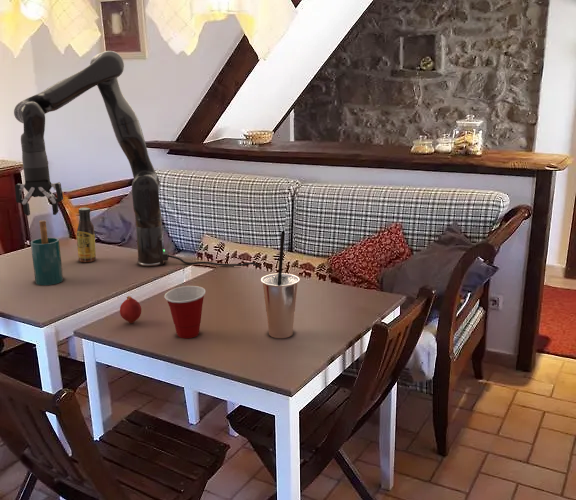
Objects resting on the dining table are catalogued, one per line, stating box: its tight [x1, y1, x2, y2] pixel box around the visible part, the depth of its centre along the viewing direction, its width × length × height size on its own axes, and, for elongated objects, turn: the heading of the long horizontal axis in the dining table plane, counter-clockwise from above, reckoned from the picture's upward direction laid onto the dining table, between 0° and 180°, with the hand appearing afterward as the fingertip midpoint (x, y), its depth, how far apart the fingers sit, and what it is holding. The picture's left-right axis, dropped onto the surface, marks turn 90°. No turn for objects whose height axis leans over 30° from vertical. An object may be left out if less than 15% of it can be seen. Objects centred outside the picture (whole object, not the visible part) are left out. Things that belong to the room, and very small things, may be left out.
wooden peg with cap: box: [38, 219, 49, 244], centre depth 212 cm, size 5×5×20 cm
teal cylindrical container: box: [30, 237, 64, 286], centre depth 213 cm, size 9×9×14 cm
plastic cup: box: [163, 285, 206, 339], centre depth 169 cm, size 11×11×12 cm
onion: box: [119, 295, 142, 324], centre depth 178 cm, size 6×6×8 cm
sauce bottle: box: [76, 207, 97, 263], centre depth 235 cm, size 7×6×20 cm
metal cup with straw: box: [260, 230, 301, 339], centre depth 166 cm, size 11×11×30 cm
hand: (41, 214), depth 209 cm, fingers open, 8 cm apart
